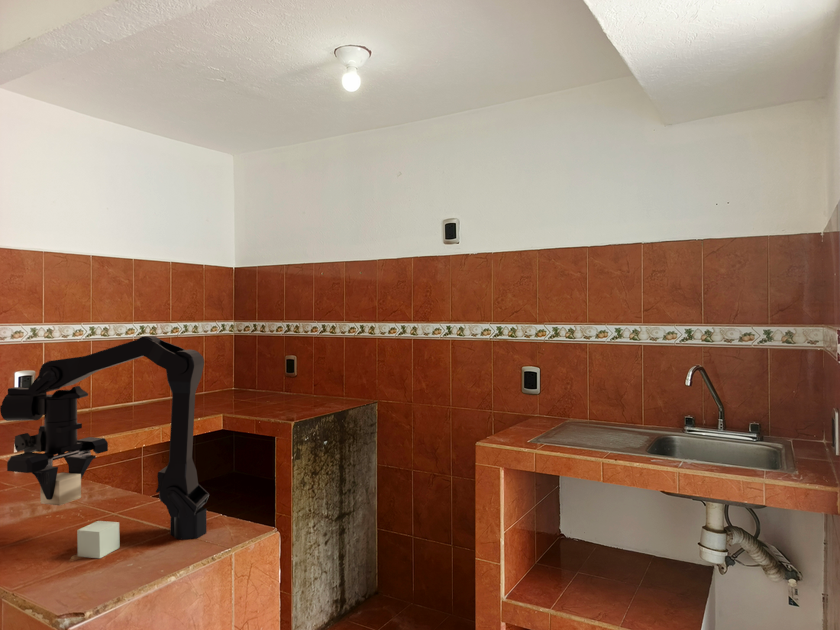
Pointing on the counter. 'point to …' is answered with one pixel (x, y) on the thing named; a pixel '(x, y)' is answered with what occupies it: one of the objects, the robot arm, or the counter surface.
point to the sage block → (98, 539)
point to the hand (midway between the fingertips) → (61, 495)
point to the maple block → (64, 489)
